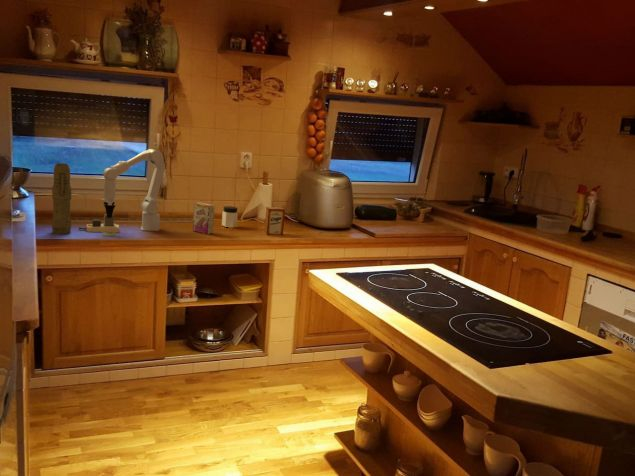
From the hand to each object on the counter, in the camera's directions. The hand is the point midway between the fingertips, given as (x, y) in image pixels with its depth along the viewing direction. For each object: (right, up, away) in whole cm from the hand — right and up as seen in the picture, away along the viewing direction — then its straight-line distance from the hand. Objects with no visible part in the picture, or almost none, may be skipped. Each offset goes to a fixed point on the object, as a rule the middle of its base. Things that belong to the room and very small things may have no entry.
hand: (108, 216), depth 319 cm
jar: (+58, -5, +42) cm, 71 cm away
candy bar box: (+46, -9, +19) cm, 51 cm away
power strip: (-5, -7, 0) cm, 9 cm away
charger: (0, -5, +1) cm, 5 cm away
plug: (-6, -5, -1) cm, 8 cm away
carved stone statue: (-20, -9, -12) cm, 25 cm away
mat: (+3, -10, -8) cm, 13 cm away
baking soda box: (+85, -10, +32) cm, 91 cm away
